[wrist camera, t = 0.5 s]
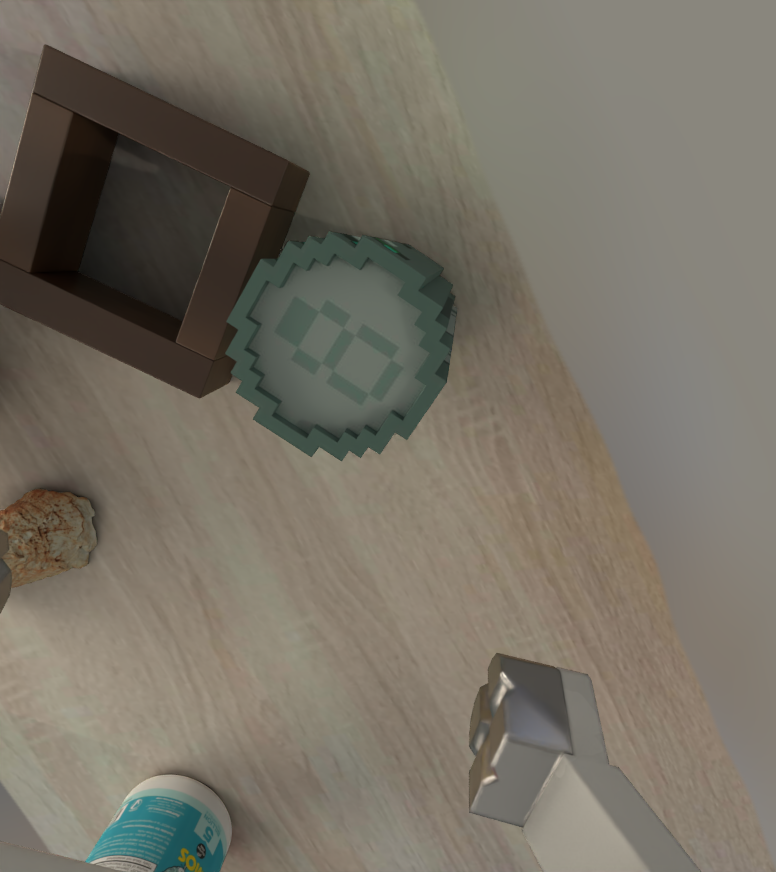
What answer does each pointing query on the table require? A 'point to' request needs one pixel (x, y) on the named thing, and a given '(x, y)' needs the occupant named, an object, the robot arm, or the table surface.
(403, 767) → the table surface
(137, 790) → the pill bottle
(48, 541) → the oyster shell
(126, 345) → the holder
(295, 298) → the can
